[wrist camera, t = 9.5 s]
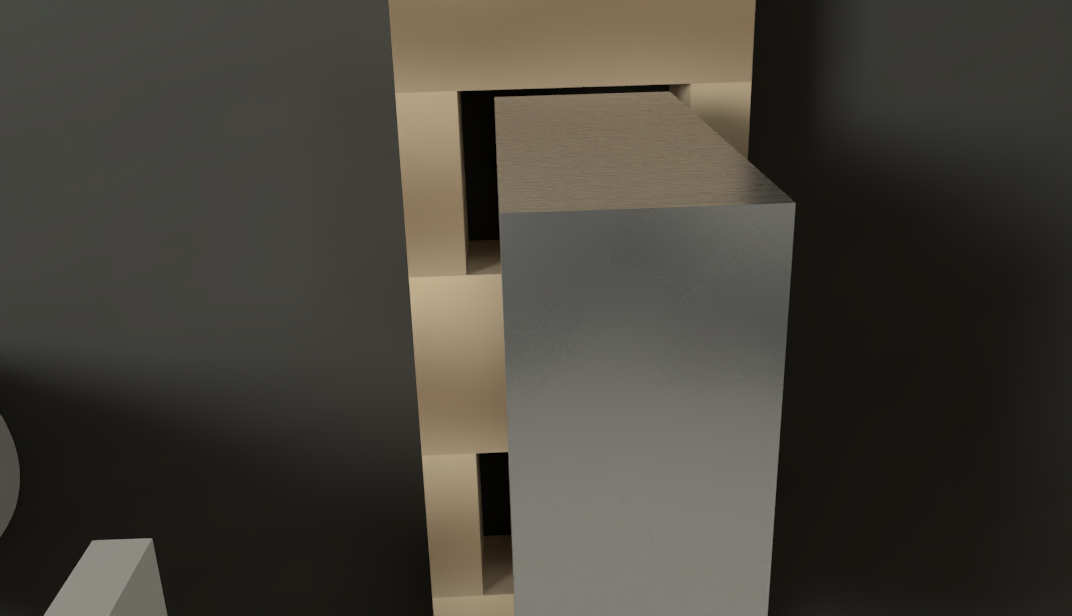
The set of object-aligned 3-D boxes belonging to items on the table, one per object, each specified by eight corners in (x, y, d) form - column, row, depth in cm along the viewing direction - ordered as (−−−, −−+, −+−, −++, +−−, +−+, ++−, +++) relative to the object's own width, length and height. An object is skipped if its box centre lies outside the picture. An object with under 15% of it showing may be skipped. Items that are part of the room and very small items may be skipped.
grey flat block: (492, 68, 22) (499, 214, 11) (638, 63, 22) (796, 202, 11) (511, 538, 26) (529, 993, 15) (633, 532, 26) (743, 979, 15)
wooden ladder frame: (390, -130, 20) (378, -138, 18) (731, -138, 21) (763, -146, 18) (446, 666, 28) (442, 734, 25) (700, 653, 28) (719, 719, 25)
